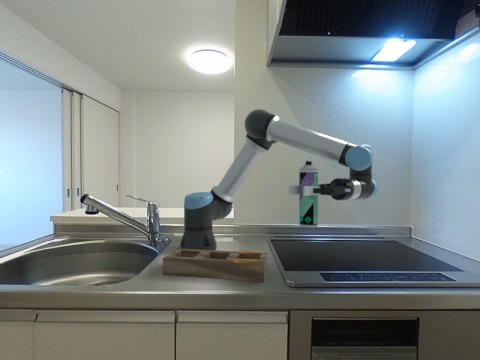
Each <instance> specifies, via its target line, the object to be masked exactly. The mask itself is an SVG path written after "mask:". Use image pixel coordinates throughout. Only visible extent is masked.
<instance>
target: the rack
mask: <svg viewBox="0 0 480 360" xmlns="http://www.w3.org/2000/svg"><path fill="white" fill-rule="evenodd" d="M268 269H269V253H268V252H263V251H262V250H243V249H240V251H235V250H217V249H216V250H197V249H180V248H177V249H176V250H174V251H172V252H171V253H169V254H167V255H165V256H164V257H163V258H162V275H164V276H176V277H178V276H179V277H189V278H190V277H191V278H203V279H205V278H207V279H221V280H233V281H245V282H246V281H247V282H249V281H250V282H262V283H263V282H265V280H266V277H267V273H268Z"/></svg>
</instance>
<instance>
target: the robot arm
mask: <svg viewBox="0 0 480 360" xmlns="http://www.w3.org/2000/svg"><path fill="white" fill-rule="evenodd" d="M244 130H245V132H246V135H245V142H244V144H243V146H242V147H241V149H240V150H239V152H238V154H237V155H236V157H235V159H234V160H233V162H232V163H231V165H230V166H229V167H228V169H227V171H226V173H225V174H224V175H223V178H221V181H220V182H219V184H218V185H215V186H214V185H213V187H211V188H212V189H210V191H209V192H208V191H203V192H200V191H199V192H193V193H188V194H186V195H185V196H184V200H183V211H184V212H183V218H184V219H183V221H184V222H183V224H184V225H183V226H184V227H183V228H184V229H183V234H182V237H181V240H180V244H179V249H197V250H215V249H216V248H218V247H217V246H218V245H217V240H216V237H215V234H214V230H213V222H214V221H218V220H222V219H225V218H226V217H228V216H229V215H230V213H232V210H233V206H234V205H233V204H234V202H235V201H236V200H235V195H236V193H237V192H238V190H239V189H240V188H241V186H242V185H243V183H244V182H245V180H246V178H247V177H248V176H249V174H250V173H251V171H252V170H253V168H254V166H255V165H256V163H257V162H258V161H259V159H260V157H261V156H262V155H263V153H265V152H268V151H269V150H270V149H271V147H272V146H273V145H274V144H276V143H277V142H278V143H281V144H283V145H286V146H289V147H292V148H294V149H297V150H300V151H303V152H306V153H308V154H311V155H314V156H316V157H319V158H322V159H325V160H327V161H329V162H333V163H335V164H338V165H341V166H344V167H345V168H348V169H349V177H344V178H343V177H342V178H341V177H340V178H339V177H337V178H334V179H332V180H331V182H330V183H321V184H320V183H319V184H318V186H303V196H310V195H318V196H321V195H322V196H330V197H331V198H332V199H333V200H335V201H346V200H347V201H348V202H351V200H366V199H369V198H373V197H374V196H375V195H376V194H377V193H378V188H379V187H378V184H377V183H376V181H375V180H374V179H373V174H372V173H373V172H372V171H373V151H372V150H373V147H372V146H371V145H369V144H354V143H351V142H347V141H344V140H341V139H339V138H336V137H333V136H330V135H328V134H324V133H321V132H318V131H315V130H311V129H308V128H306V127H303V126H299V125H297V124H294V123H290V122H287V121H284V120H281V119H280V117H279V116H278V115H276V114H273V113H270V112H269V111H267V110H265V109H261V108H260V109H259V108H258V109H254V110H252V111H250V112H249V113H248V115H247V116H246V117H245V120H244ZM287 195H290V196H292V195H299V185H288V186H287ZM216 250H217V249H216Z"/></svg>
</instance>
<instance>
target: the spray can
mask: <svg viewBox="0 0 480 360" xmlns="http://www.w3.org/2000/svg"><path fill="white" fill-rule="evenodd" d="M298 174H299V180H298V181H299V184H298V186H299V194H298V196H299V197H298V198H299V200H298V203H299V204H298V205H299V206H298V207H299V209H298V210H299V211H298V212H299V215H298V217H299V221H298V225H299V227H301V228H306V229H307V228H314V229H315V228H318V227H319V226H318V225H319V224H318V223H319V222H318V221H319V216H318V215H319V214H318V213H319V205H318V203H319V200H318V199H319V198H318V197H319V195H310V196H303V186H318V185H319V184H318V183H319V172H318V168H317V167H315V166H314V164H313V163H312V161H311V160H306V161H305V164H303V166H302V167H301V168H299V172H298Z"/></svg>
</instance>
